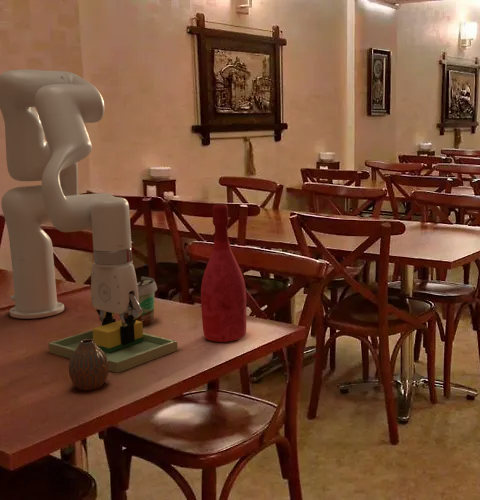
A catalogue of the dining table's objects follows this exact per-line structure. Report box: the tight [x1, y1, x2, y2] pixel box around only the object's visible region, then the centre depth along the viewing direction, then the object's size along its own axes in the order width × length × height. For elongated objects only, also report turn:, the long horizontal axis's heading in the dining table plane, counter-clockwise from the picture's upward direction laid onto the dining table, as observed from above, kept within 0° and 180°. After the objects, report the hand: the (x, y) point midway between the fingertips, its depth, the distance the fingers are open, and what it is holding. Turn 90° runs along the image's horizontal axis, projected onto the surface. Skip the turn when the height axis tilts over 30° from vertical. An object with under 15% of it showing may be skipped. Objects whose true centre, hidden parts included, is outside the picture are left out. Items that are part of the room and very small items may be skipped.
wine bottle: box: [200, 203, 247, 343], centre depth 155 cm, size 10×10×30 cm
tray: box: [48, 329, 179, 374], centre depth 148 cm, size 22×16×2 cm
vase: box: [68, 339, 110, 391], centre depth 128 cm, size 7×7×9 cm
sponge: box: [91, 320, 144, 353], centre depth 149 cm, size 5×9×4 cm, turn 147°
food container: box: [125, 276, 158, 328], centre depth 166 cm, size 12×6×10 cm, turn 168°
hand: (118, 339), depth 150 cm, fingers closed on sponge, 5 cm apart
